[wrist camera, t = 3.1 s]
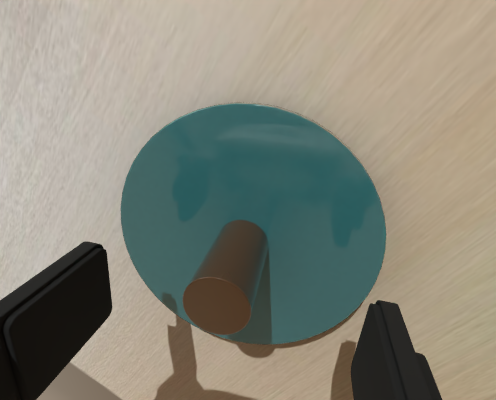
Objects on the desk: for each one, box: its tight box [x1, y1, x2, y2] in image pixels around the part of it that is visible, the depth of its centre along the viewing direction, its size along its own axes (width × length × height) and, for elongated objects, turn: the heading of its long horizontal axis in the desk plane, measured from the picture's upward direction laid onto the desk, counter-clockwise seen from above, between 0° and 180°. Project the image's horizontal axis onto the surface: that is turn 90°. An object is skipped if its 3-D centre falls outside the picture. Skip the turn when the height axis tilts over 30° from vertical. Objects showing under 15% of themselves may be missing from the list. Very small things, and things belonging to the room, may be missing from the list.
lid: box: [121, 102, 386, 345], centre depth 13 cm, size 12×12×6 cm
